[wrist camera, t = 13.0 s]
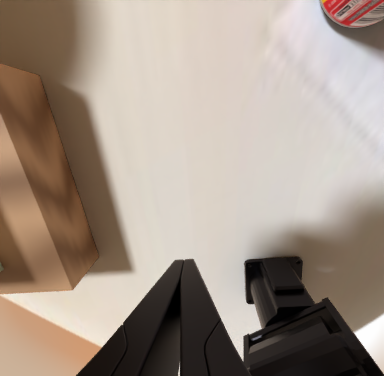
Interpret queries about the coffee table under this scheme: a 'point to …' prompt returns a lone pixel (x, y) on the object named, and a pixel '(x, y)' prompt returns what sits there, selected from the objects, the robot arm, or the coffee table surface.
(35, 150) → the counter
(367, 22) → the soda can
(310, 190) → the coffee table surface
